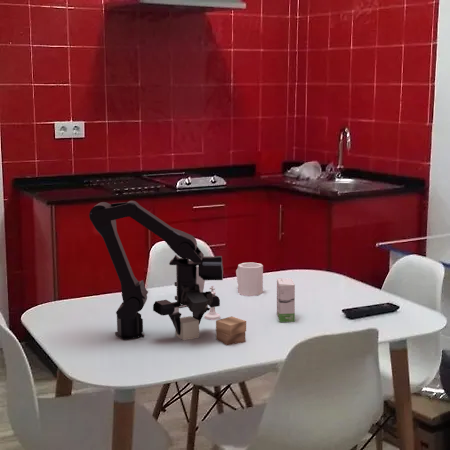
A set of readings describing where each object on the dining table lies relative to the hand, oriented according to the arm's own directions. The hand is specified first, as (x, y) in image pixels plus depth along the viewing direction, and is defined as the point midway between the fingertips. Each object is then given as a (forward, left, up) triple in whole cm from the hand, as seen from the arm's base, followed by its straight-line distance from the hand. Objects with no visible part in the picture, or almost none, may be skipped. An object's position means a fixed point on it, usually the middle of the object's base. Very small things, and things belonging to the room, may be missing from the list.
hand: (187, 332), depth 217 cm
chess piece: (+15, +12, -1) cm, 19 cm away
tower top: (+9, -9, +2) cm, 13 cm away
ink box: (+34, 0, -1) cm, 34 cm away
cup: (+20, +34, -1) cm, 39 cm away
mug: (+40, +32, -1) cm, 51 cm away
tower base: (+9, -9, -1) cm, 13 cm away
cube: (0, 0, -1) cm, 1 cm away
